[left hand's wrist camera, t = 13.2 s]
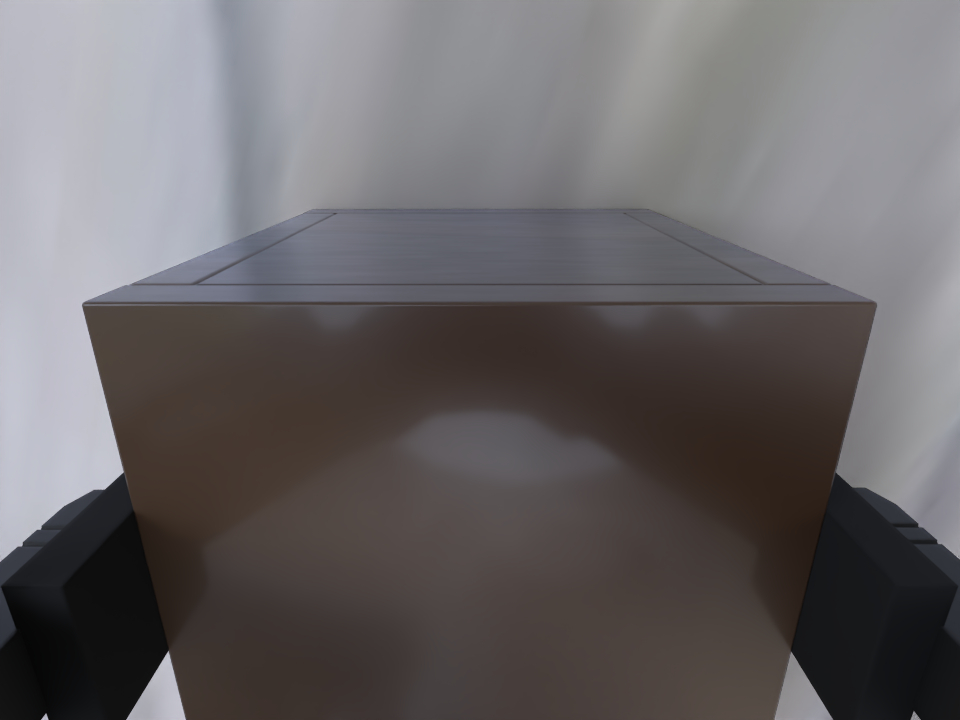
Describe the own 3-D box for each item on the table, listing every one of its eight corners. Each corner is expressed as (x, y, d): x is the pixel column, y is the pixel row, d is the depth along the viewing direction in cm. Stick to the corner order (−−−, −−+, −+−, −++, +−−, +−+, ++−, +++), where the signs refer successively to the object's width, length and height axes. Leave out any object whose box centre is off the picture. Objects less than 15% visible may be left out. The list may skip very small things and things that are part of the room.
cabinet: (602, 686, 24) (687, 1072, 14) (359, 686, 24) (273, 1071, 14) (649, 208, 17) (879, 301, 7) (311, 209, 17) (79, 302, 7)
